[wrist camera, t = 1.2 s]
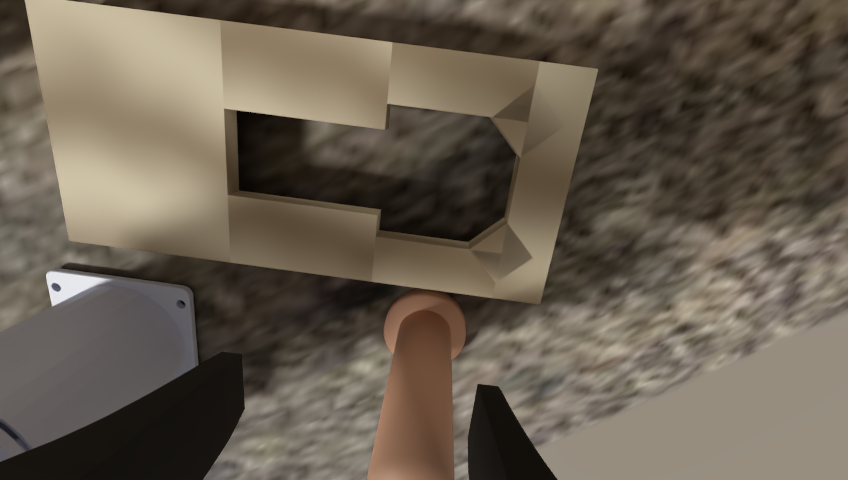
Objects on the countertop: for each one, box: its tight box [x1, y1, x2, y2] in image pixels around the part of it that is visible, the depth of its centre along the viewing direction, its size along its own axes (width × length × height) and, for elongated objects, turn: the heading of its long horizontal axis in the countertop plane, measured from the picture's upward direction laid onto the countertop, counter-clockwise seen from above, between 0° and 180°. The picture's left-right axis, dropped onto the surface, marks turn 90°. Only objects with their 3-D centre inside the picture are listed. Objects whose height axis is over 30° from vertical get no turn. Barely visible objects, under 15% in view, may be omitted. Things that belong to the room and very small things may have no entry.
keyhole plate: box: [25, 0, 598, 305], centre depth 18 cm, size 10×22×3 cm, turn 83°
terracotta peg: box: [367, 288, 466, 480], centre depth 17 cm, size 4×4×10 cm
